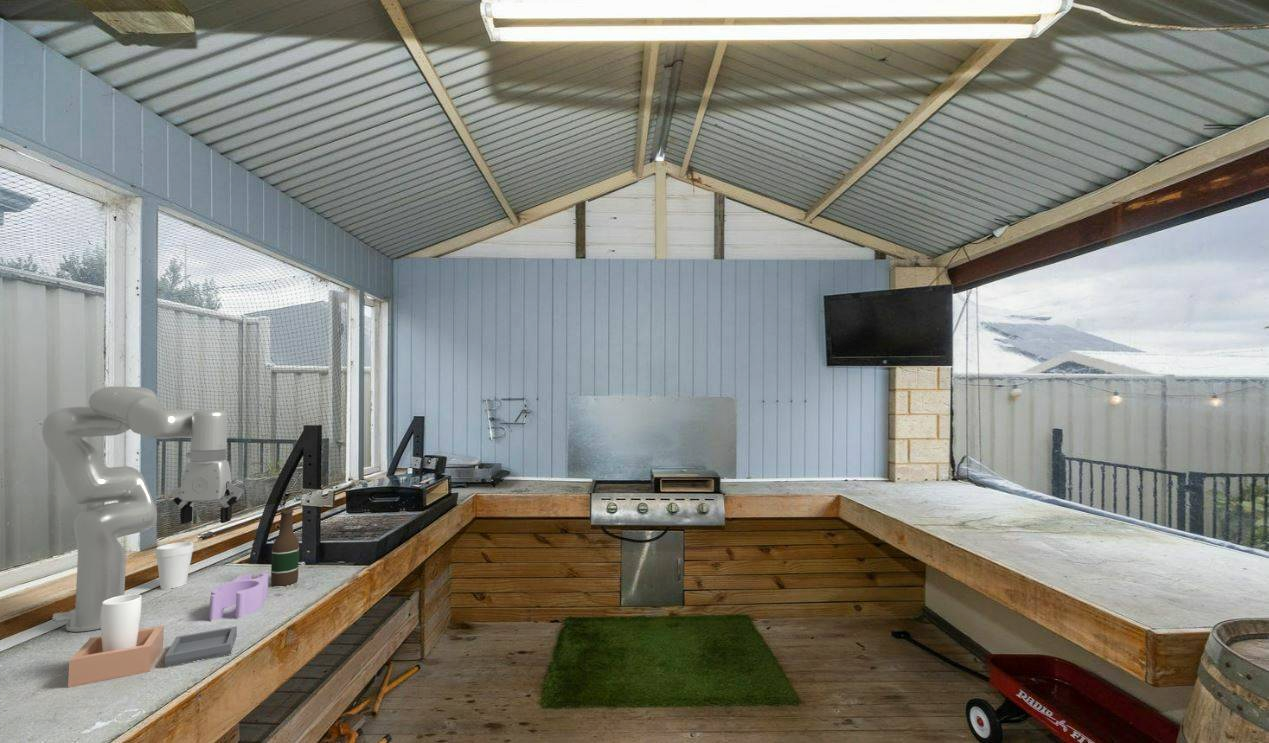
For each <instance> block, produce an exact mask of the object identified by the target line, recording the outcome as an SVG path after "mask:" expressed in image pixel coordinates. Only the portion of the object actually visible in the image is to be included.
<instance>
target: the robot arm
mask: <svg viewBox="0 0 1269 743" xmlns="http://www.w3.org/2000/svg"><path fill="white" fill-rule="evenodd" d="M88 405H89V406H74V407H73V406H70V407H64V408H59V409H56V410H53V411H52V412H50V413H49V414H48V415H46V416H45V419H44V420H43V422H42V427H41V428H42V429H41V435H42V439H43V442H44V445H45V446H46V448H47V449H48V451H49V452H50V454H51V456H53V458H54V460H55V461H56V463H57V465H58V466H59V471H60V474H61V476H62V479H63V481H64V484H65V485H66V486H65V488H66V489H67V492H68V494H69V496H70V498H71V499H72V501H73V502H74V503H75V504H78V505H83V506H85V505H86V506H87V505H94V504H99V503H102V504H99V505H96V506H95V505H94V506H92V507H89V508H87V509H85V510H83V511H82V512H80V513H79V514H78V515H77V516H76V518H75V519H74V523H73V531H74V536H75V540H76V547H77V562H76V563H77V565H76V566H77V567H76V568H77V569H76V570H77V571H76V584H75V586H76V588H75V589H76V590H75V604H74V606H75V608H74V609H71V610H69V611H67V612H62V611H61V612H57V613H53V615H52V621H53V622H55V623H61V622H66V621H67V622H68V623H66V625H65V630H66V631H68V632H72V633H77V632H89V631H96V630H99V629H100V630H101V607H102V602H103V601H105V600H107V599H110V598H113V597H117V596H122V595H125V591H126V590H125V589H126V588H125V587H126V567H127V553H126V550H125V548H124V546H123V545H122V544H121V542H119V540H118V538H121V537H125V536H130V535H134V534H138V533H139V534H140V533H142V532H146V531H148V530H149V529H151V528H153V526H154V525H155V524H156V522H157V519H158V512H157V506H156V505H155V501H154V499H153V497H152V494H151V491H150V490H149V486H148V484H147V482H146V480H145V477H144V476H143V474H142V473H141V471H139V470H138V469H137V468H135V467H133V466H127V465H126V466H125V465H124V466H123V465H122V466H115V467H113V466H112V467H108V466H107V465H106V464H105V462H104V460H103V458H102V455H101V453H100V452H99V450H98V449H97V448H96V447H95V446H93V445H92V444H91V443H89V442H87V441H86V440H84V439H83V438H86V437H87V438H91V437H92V438H93V437H107V436H108V437H111V436H118V435H122V434H124V433H126V432H127V431H129V430H131V432H132V433H135V434H138V435H141V436H144V437H148V438H152V439H158V440H167V439H168V440H169V439H180V438H181V439H182V438H190V451H189V452H187V453H186V454H185V455H186V456H185V457H186V458H187V459H188V458H189V461H190V462H186V464H185V467H184V471H183V474H182V479H181V486H178V487H177V488H174V489H173V490H171V491H170V495H171V496H172V497H171V498H172V499H173V502H174V503H175V504H176V505H177V508H178V509H180V514H179V519H180V524H181V525H184V524H185V525H186V524H188V523H191V522H193V510H194V509H193V506H191V505H192V504H193V503H194V502H216V501H218V502H219V503H220V504H221V505H222V506H223V507H221V508H220V515H219V516H220V519H219V520H220V524H225V523H228V522H230V521H231V520H232V517H233V506H235V504H236V503H237V502H238V501H239V500H240V497H241V496H242V495H243V493H244V489H243V488H240V486H238V485H237V486H236V485H235V484H233V483H232V475H231V474H232V473H231V467H230V463H229V461H228V460H227V450H228V449H227V445H228V444H227V442H228V420H229V418H228V416H229V415H228V413H227V411H225V410H220V409H209V410H207V409H205V410H204V409H197V408H196V409H194V408H192V409H191V408H190V409H188V408H187V409H184V408H183V409H181V408H179V409H178V408H177V409H176V408H175V409H162V405H161V403H160V400H159V398H158V396H157V394H156V393H155V392H154V391H153V390H152V389H149V388H147V387H144V386H143V387H142V386H105V387H101V388H99V389H97V390H95V391H93V392H92V393H91V395H90V396H89V399H88ZM232 492H233V494H232ZM231 494H232V496H231ZM113 501H115V502H113ZM116 501H117V502H116ZM107 502H112V503H107ZM103 503H106V504H103Z"/></svg>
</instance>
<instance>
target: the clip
mask: <svg viewBox="0 0 1269 743" xmlns="http://www.w3.org/2000/svg"><path fill="white" fill-rule="evenodd" d="M259 575H260V576H259V577H256V578H252V576H253V575H252V573H246V574H242V575H239V576H237V577H236V578H235V579H234V580H233V581H229V582H225V583H223V584H219V585H217V586H215V587H213V588H211V590H210V599H209V600H210V601H209V620H214V619H218V618H221V617H223V618H224V609H223V608H225V607H228V608H230V607H229V606H232V605H236V606H235V618H236V617H237V618H241V619H243V618H244V616H243V615H245V614H248V615H251V614H253V613H252V612H254V613H256V612H255V611H257V610H259V609H260V610H262V609H263V608H264V607H263V606H265V600H266V599H267V598H268V597H267V596H269V573H268V572H261V573H259ZM265 598H266V599H265ZM232 607H233V606H232ZM262 607H263V608H262ZM261 608H262V609H261ZM225 609H226V608H225ZM260 610H259V611H260ZM257 612H258V611H257ZM250 613H251V614H250ZM245 616H246V615H245ZM242 617H243V618H242ZM237 618H236V619H237ZM221 619H222V618H221ZM209 620H208V621H209ZM218 620H219V619H218Z"/></svg>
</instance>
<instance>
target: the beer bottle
mask: <svg viewBox="0 0 1269 743" xmlns="http://www.w3.org/2000/svg"><path fill="white" fill-rule="evenodd" d="M293 513H294V510H293V509H291V508H287V509H282V510H280V513H279V514H280V524H279V531H278V535H277V537H276V538H275V540H274V542H273V544H272V548H271V562H270V565H271V566H270V567H271V568H270V569H271V570H270V585H272V586H271V587H273V586H284V587H288V586H287V585H289V586H292V585H291V584H293V585H295V584H294V583H296V584H297V582H298V580H299V569H300V568H299V565H300V563H299V562H300V561H299V560H300V541H299V538H298V537H297V536H296V535H295V534H296V533H295V532H294V526H293V524H294V523H293Z"/></svg>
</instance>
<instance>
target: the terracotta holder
mask: <svg viewBox="0 0 1269 743" xmlns="http://www.w3.org/2000/svg"><path fill="white" fill-rule="evenodd" d="M164 629H165V626H164V625H159V626H154V627H147V628H142V629H140V628H139V632H138V638H137V645H136V646H135V647H129V648H124V649H118V650H112V651H107V652H102V637H101V635H99V636H93V637H90V638H89V639H88V640H86V642H85V643H84V644H83V645H82V646H81V647H80V649H78V651H77V652H76V653H75V654H74V655H73V656H72V657H71V658H70V659H69V661H68V663H69V664H68V667H69V668H68V679H67V680H68V681H67V683H68V684H67V687H68V688H71V687H72V688H73V687H77V686H81V685H88V684H92V683H98V682H103V681H108V680H112V679H119V678H124V677H129V676H134V675H139V674H143V673H148V672H150V671H151V670H152V668H153V667H154V664H155V663H156V662H157V660H156V659H158V658H159V656H160V654H161V653H162V651H163V650H164V635H165V633H164V632H165V630H164Z"/></svg>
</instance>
